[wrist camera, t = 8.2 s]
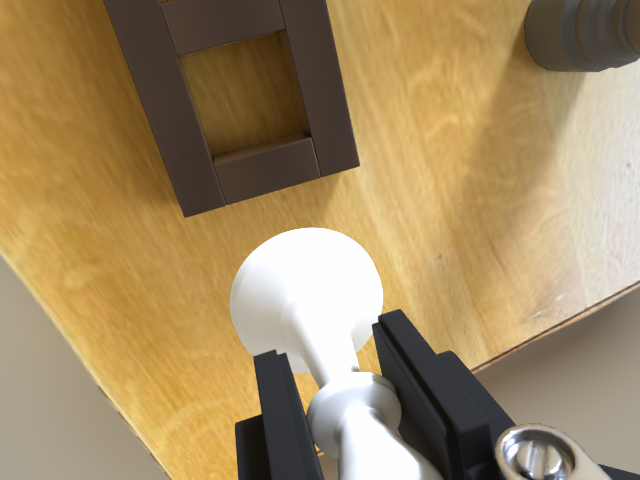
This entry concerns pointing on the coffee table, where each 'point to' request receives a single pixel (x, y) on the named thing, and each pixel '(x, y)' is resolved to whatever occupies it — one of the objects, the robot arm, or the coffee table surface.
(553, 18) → the candle holder
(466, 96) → the coffee table surface
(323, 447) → the chess piece
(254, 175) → the socket block
